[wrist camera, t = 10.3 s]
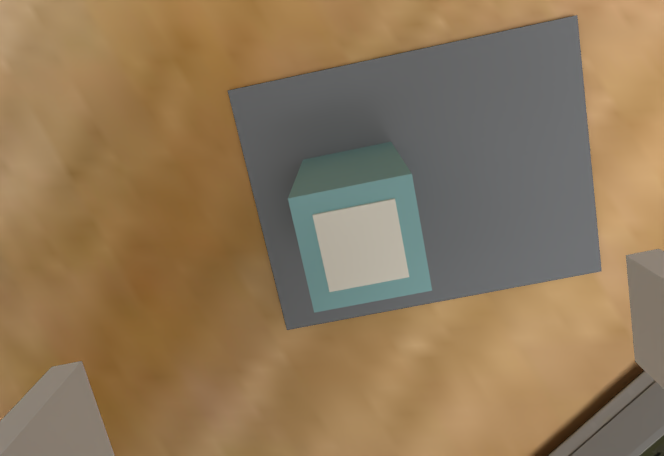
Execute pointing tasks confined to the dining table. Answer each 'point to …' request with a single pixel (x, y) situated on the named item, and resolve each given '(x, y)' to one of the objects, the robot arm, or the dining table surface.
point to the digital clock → (623, 424)
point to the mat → (441, 159)
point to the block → (358, 227)
